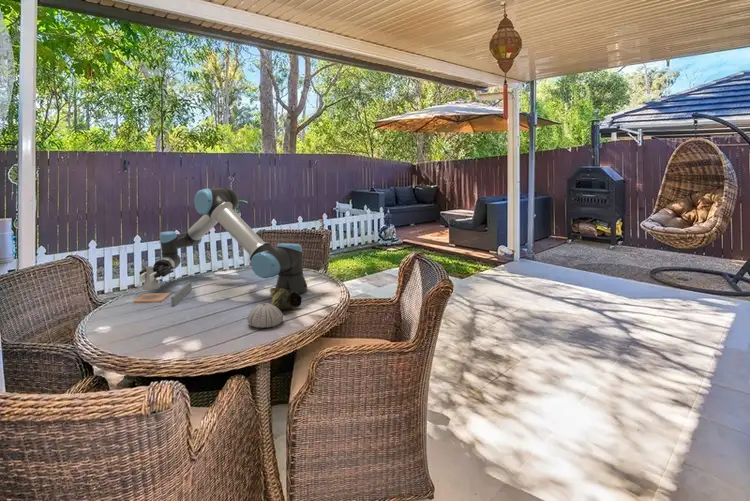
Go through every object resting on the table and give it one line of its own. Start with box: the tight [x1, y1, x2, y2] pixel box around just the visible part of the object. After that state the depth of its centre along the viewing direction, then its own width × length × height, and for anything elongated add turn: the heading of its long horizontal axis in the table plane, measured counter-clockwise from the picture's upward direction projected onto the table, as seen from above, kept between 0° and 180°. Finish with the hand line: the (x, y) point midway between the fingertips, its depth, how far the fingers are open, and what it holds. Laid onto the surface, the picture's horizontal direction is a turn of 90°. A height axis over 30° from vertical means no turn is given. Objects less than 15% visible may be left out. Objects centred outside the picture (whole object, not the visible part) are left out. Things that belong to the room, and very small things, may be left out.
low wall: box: [170, 281, 193, 307], centre depth 204 cm, size 26×1×4 cm, turn 7°
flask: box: [142, 265, 161, 291], centre depth 201 cm, size 7×7×10 cm
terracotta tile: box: [132, 292, 172, 304], centre depth 203 cm, size 12×12×1 cm
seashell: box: [269, 287, 303, 311], centre depth 184 cm, size 11×11×10 cm
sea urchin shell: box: [246, 302, 284, 329], centre depth 169 cm, size 13×14×8 cm
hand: (145, 278), depth 196 cm, fingers closed on flask, 3 cm apart
